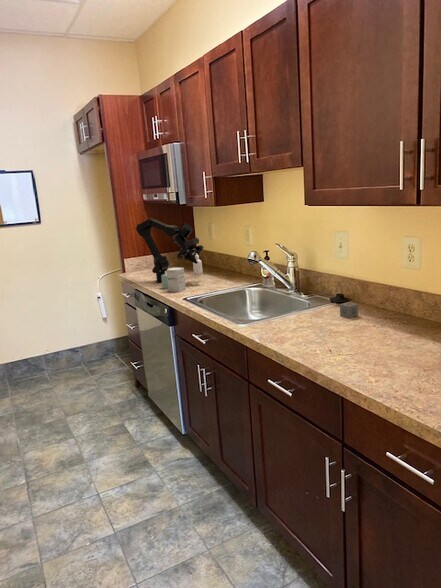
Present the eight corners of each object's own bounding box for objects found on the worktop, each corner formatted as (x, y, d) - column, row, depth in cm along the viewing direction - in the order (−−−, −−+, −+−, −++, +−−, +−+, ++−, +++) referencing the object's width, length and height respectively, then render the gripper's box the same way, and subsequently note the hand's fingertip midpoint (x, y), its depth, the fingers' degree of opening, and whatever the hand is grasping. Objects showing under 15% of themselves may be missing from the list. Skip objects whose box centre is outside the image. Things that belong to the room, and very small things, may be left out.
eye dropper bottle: (196, 274, 263) (194, 254, 260) (193, 273, 268) (191, 253, 265) (203, 273, 264) (201, 253, 262) (200, 272, 270) (198, 252, 267)
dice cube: (358, 316, 184) (358, 304, 183) (349, 318, 181) (349, 306, 180) (348, 313, 188) (348, 301, 187) (340, 316, 186) (339, 304, 184)
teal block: (162, 288, 265) (161, 275, 263) (168, 286, 269) (167, 273, 267) (168, 289, 262) (167, 275, 260) (174, 287, 266) (173, 274, 264)
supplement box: (168, 291, 255) (165, 269, 253) (175, 288, 262) (173, 267, 259) (179, 292, 252) (176, 269, 249) (186, 289, 258) (184, 267, 255)
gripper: (178, 235, 256) (195, 255, 252) (199, 231, 270) (215, 250, 266) (169, 249, 262) (186, 269, 258) (190, 244, 277) (206, 263, 273)
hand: (199, 262), depth 264 cm, fingers closed on eye dropper bottle, 3 cm apart
